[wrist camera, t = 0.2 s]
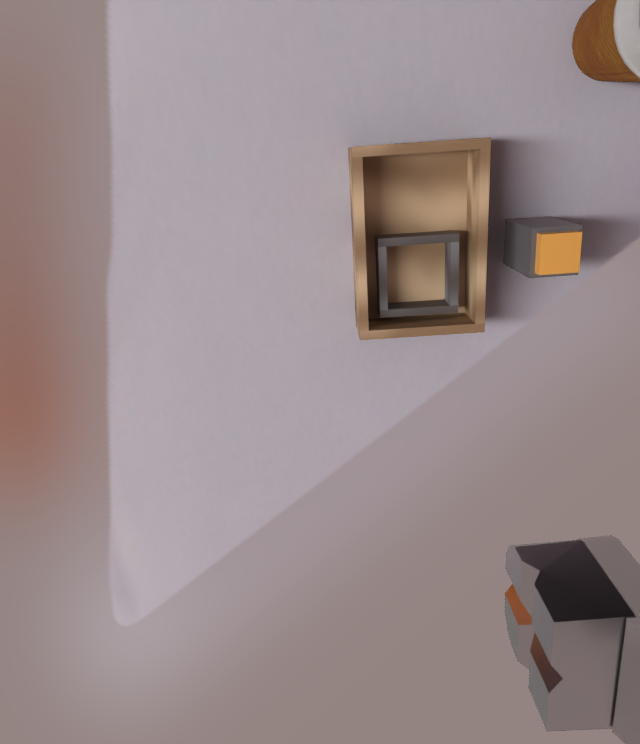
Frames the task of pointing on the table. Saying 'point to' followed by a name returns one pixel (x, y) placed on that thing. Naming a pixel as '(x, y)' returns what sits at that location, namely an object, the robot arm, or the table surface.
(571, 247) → the block
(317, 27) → the table surface
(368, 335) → the box
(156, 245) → the table surface
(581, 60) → the disposable coffee cup
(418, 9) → the table surface
